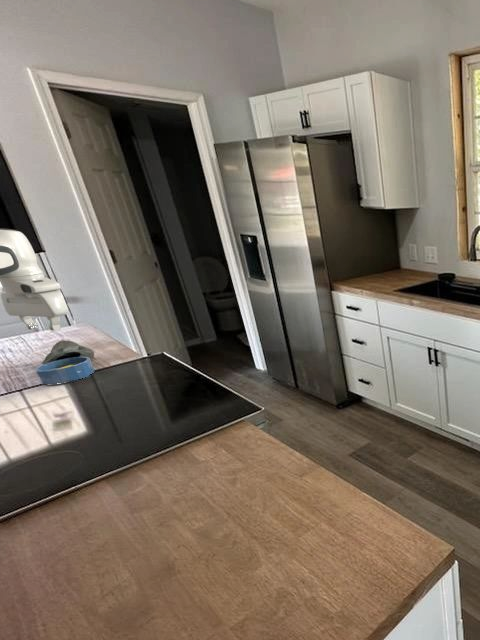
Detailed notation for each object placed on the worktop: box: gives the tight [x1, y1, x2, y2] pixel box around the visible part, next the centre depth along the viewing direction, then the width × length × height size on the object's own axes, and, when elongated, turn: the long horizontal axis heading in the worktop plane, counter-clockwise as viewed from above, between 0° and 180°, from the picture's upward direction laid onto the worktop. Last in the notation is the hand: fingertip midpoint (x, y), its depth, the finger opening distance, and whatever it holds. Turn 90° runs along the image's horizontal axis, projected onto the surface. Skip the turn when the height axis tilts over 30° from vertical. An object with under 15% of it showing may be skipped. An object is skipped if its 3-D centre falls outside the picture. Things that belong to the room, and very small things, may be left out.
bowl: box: [34, 357, 96, 386], centre depth 132 cm, size 12×12×5 cm
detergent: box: [41, 339, 95, 365], centre depth 145 cm, size 13×7×25 cm
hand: (44, 329), depth 126 cm, fingers open, 8 cm apart
